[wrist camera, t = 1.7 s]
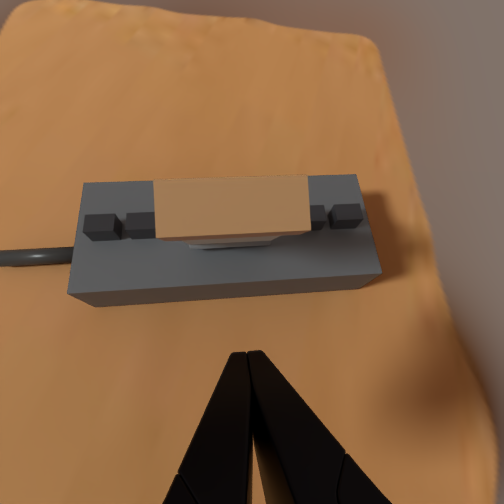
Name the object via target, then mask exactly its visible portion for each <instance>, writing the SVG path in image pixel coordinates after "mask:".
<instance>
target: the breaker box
mask: <svg viewBox="0 0 504 504" xmlns="http://www.w3.org/2000/svg"><path fill="white" fill-rule="evenodd" d="M308 190H309V205H310V220H311V230H310V231H308V232H305V233H303V234H300V235H282V236H279V237H277V238H275V239H273V240H271V244H270V245H264V246H245V247H227V248H208V249H190V247H189V244H187V243H185V242H183V241H163V240H160V239H158V238H156V229H155V208H154V187H153V181H128V182H96V183H84V184H83V191H82V198H81V204H80V211H79V217H78V224H77V231H76V237H75V244H74V247H59V248H39V249H19V250H0V267H4V266H22V265H40V264H58V263H72V264H71V270H70V277H69V283H68V290H67V294H69V295H71V296H73V297H75V298H77V299H79V300H81V301H83V302H85V303H87V304H89V305H91V306H94V307H106V306H121V305H135V304H149V303H164V302H178V301H192V300H207V299H221V298H235V297H250V296H264V295H279V294H293V293H307V292H322V291H336V290H350V289H359V288H361V287H362V286H364V285H365V284H367V283H368V282H370V281H371V280H373V279H374V278H376V277H377V276H379V275H380V274H382V270H381V266H380V262H379V259H378V255H377V251H376V247H375V244H374V240H373V236H372V232H371V228H370V225H369V221H368V217H367V213H366V209H365V206H364V202H363V198H362V194H361V191H360V187H359V183H358V179H357V175H356V174H351V175H319V176H308Z"/></svg>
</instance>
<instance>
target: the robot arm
mask: <svg viewBox="0 0 504 504" xmlns="http://www.w3.org/2000/svg"><path fill="white" fill-rule="evenodd" d="M253 441H254V447H255V452H256V457H257V462H258V467H259V471H260V476H261V481H262V486H263V490H264V495H265V500H266V504H392V503H391V502H390V501H389V500H388V499H387V498H386V497H385V496H384V495H383V494H382V493H381V491H380V490H379V489H378V488H377V487H376V486H375V485H374V483H373V482H372V481H371V480H370V479H369V478H368V477H367V475H366V474H365V473H364V472H363V471H362V470H361V468H360V467H359V466H358V465H357V464H356V462H355V461H354V460H353V459H352V458H351V456H350V455H349V454H345V449H344V448H343V447H342V446H341V445H340V443H339V442H338V441H337V440H336V439H335V437H334V436H333V435H332V434H331V433H330V431H329V430H328V429H327V428H326V427H325V425H324V424H323V423H322V422H321V421H320V419H319V418H318V417H317V416H316V415H315V413H314V412H313V411H312V410H311V409H310V407H309V406H308V405H307V404H306V403H305V401H304V400H303V399H302V398H301V397H300V395H299V394H298V393H297V392H296V391H295V389H294V388H293V387H292V386H291V385H290V383H289V382H288V381H287V380H286V379H285V377H284V376H283V375H282V374H281V373H280V371H279V370H278V369H277V368H276V367H275V365H274V364H273V363H272V362H271V361H270V359H269V358H268V357H267V356H266V355H265V353H264V352H263V351H261V350H255V351H248V352H247V353H246V352H233V353H231V354H230V356H229V359H228V361H227V363H226V365H225V367H224V370H223V372H222V374H221V376H220V378H219V381H218V383H217V385H216V387H215V390H214V392H213V394H212V396H211V398H210V401H209V403H208V405H207V407H206V409H205V412H204V414H203V416H202V418H201V420H200V423H199V425H198V427H197V429H196V432H195V434H194V436H193V438H192V440H191V443H190V445H189V447H188V449H187V451H186V454H185V456H184V458H183V460H182V462H181V465H180V467H179V469H178V474H177V475H175V478H174V480H173V482H172V484H171V486H170V489H169V491H168V493H167V495H166V497H165V499H164V501H163V503H162V504H252V474H253Z"/></svg>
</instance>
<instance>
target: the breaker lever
mask: <svg viewBox="0 0 504 504" xmlns="http://www.w3.org/2000/svg"><path fill="white" fill-rule="evenodd" d="M153 187H154V208H155V229H156V238H158V239H160V240H163V241H183V242H185V243H187V244H189V247H190V249H208V248H227V247H245V246H264V245H270V244H271V240H273V239H275V238H277V237H279V236H282V235H300V234H303V233H305V232H308V231H310V230H311V220H310V205H309V190H308V175H283V176H251V177H219V178H187V179H154V180H153Z"/></svg>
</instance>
